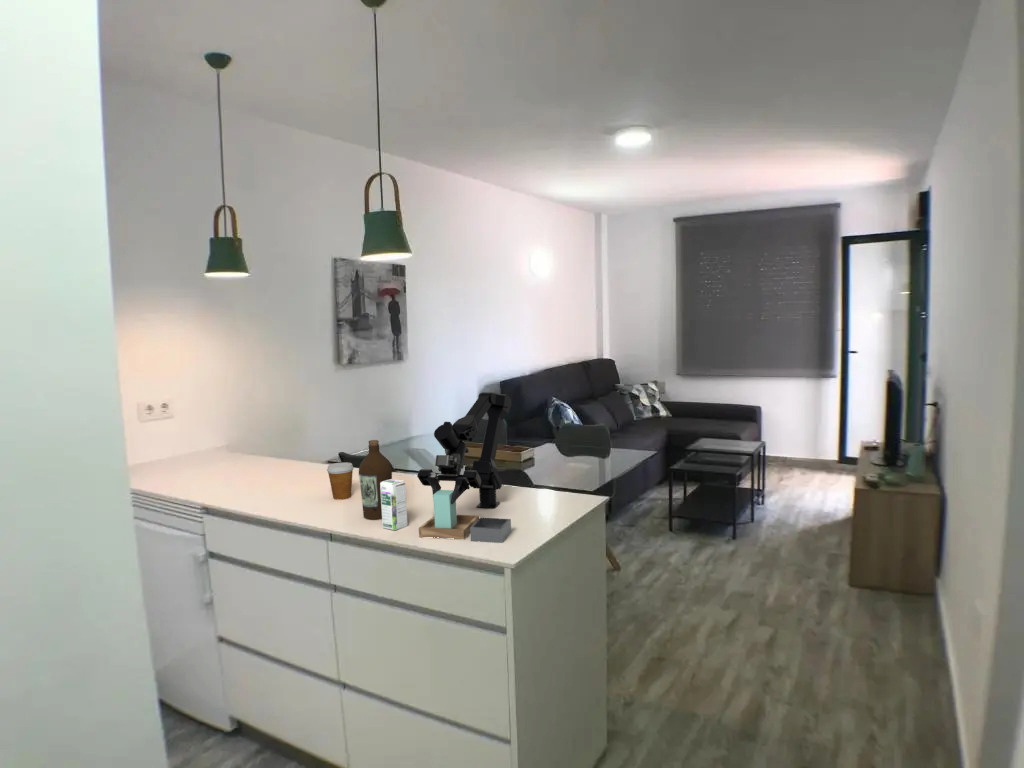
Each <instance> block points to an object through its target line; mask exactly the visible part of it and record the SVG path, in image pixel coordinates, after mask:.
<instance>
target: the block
mask: <svg viewBox="0 0 1024 768" xmlns="http://www.w3.org/2000/svg"><path fill="white" fill-rule="evenodd" d="M453 491H454V489H453V490H452V489H441V490H439V491H437V492H436V493H435V494H433V493H432V498H433V499H432V500H434V501H433V512H434V513H433V516H434V517H435V528H452V527H453V526H454V525H455V524H457V515H458V513H457V500H456V501H455V502H454V503H453V504H451V497H452V494H453Z"/></svg>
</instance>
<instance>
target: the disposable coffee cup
mask: <svg viewBox="0 0 1024 768" xmlns="http://www.w3.org/2000/svg"><path fill="white" fill-rule="evenodd" d="M354 468H355V467H354V466H353V463H351V462H335V463H332V464H329V465H327V469H326V472H327V473H328V477H329V483H330V488H331V492H332V493H331V494H332V498H333V499H334V500H337V499H341V500H347V499H350V498H351V497H352V488H353V487H352V486H353V471H354ZM349 497H350V498H349ZM346 498H347V499H346Z"/></svg>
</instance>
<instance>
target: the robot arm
mask: <svg viewBox="0 0 1024 768" xmlns="http://www.w3.org/2000/svg"><path fill="white" fill-rule="evenodd" d="M477 397H478V398H477V399H476V400H475V402H474V403H473V404H472V406H471V407H470V409H469V410H468V411H467V413H466V414H465V415H464V416H463V417H461V418H458V419H456V420H455V422H453V423H451V421H444V422H443V424H441V425H439V426H438V427H437V428H436V429H434V432H433V436H434V438H435V439H436V440H437V442H438V443H439V445H440V446H441V447H442V449H444V450H446V452H445V455H444V454H443V455H442V454H437V455H436V456H435V464H434V465H435V467H438V468H437V470H438V472H439V473H437V472H434V471H433V469H432V468H430V469H429V468H420V469H419V470H418V472H417V475H416V477H417V478H418V480H419V482H420V483H421V485H423V486H425V487H426V486H427V487H431V491H432V495H433V494H435V493H436V492H437V491H439V490H442V486H441V484H440V482H442V481H443V482H454V483H455V484H454V488H453V490H454V491H453V494H452V497H451V504H453V503H454V502H455V501H456V502H457V500H458V499H459V498H460V496H461V495H462V494H464V492H465V491H466V490H470V488H473V489H478V490H479V491H478V493H479V494H478V495H479V496H478V497H479V503H478V504H477V505H476V506H475V507H476V508H481V509H495V508H497V507H498V506H499V504H501V501H498V499H497V490H501V489H502V487H503V480H502V478H501V477H500V476H499V474H498V471H499V469H498V467H497V464H496V462H495V461H496V455H497V449H498V444H499V439H500V434H501V430H502V429H501V428H502V424H503V421H504V419H505V418H506V417H507V416H508V415H509V413H510V409H511V407H512V403H513V402H512V399H511V398H510V397H509V395H508V394H506V393H505V394H503V393H502V394H501V393H500V394H498V393H494V392H490V391H489V392H480V393H479V394H478V396H477ZM486 414H487V417H488V418H487V424H486V428H485V433H484V438H483V444H482V447H481V453H480V457H479V458H478V460H474V461H473V463H472V469H469V470H468V469H465V470H464V471H463V474H461V472H462V470H463V469H464V466H465V465H464V459H465V456H466V455H465V454H466V453H467V454H468V453H469V452H470V451H469V448H468V446H467V444H466V443H465V442H473V441H474V440H475V438H476V437H477V434H478V432H479V429H478V428H479V427H478V426H479V424H480V422H481V421H482V420H483V418H484V416H485V415H486ZM432 500H433V499H432ZM432 502H434V500H433V501H432Z"/></svg>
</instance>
